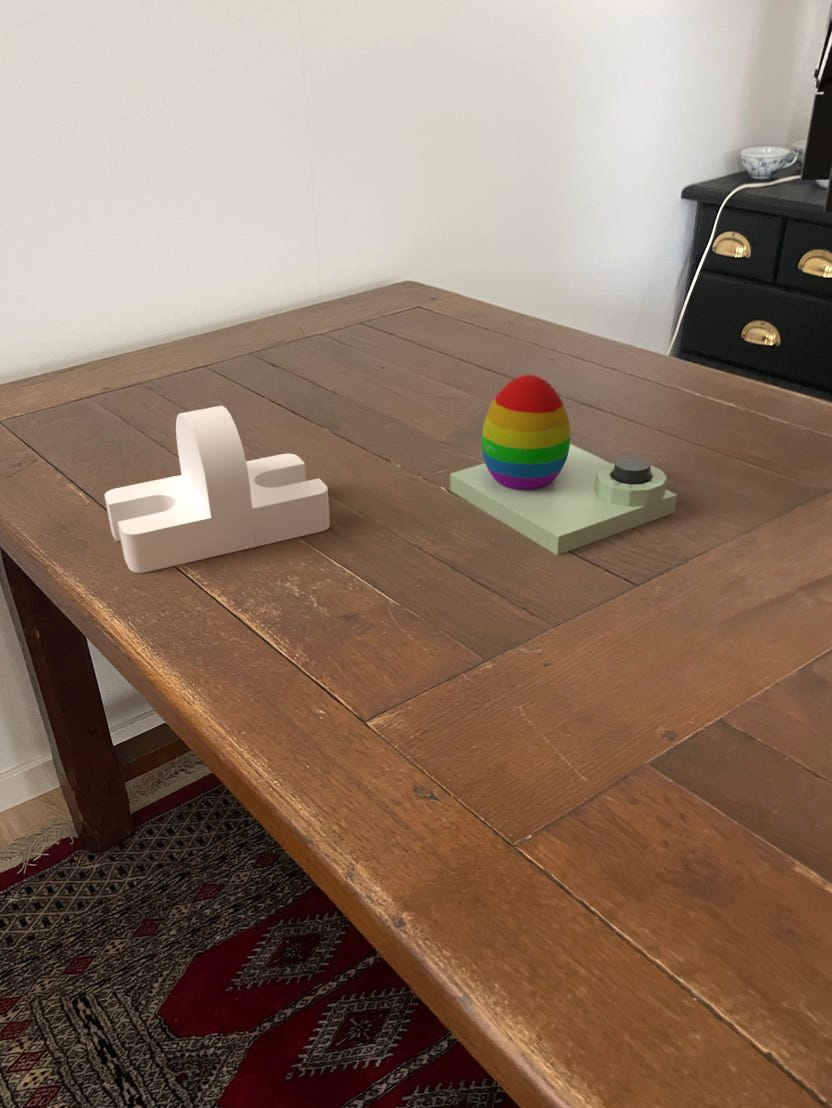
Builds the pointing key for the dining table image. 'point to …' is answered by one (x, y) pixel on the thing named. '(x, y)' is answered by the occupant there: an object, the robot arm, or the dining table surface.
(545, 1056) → the dining table surface
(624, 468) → the button
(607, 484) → the scale
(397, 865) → the dining table surface
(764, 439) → the dining table surface
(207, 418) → the bracket
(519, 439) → the decorative egg
